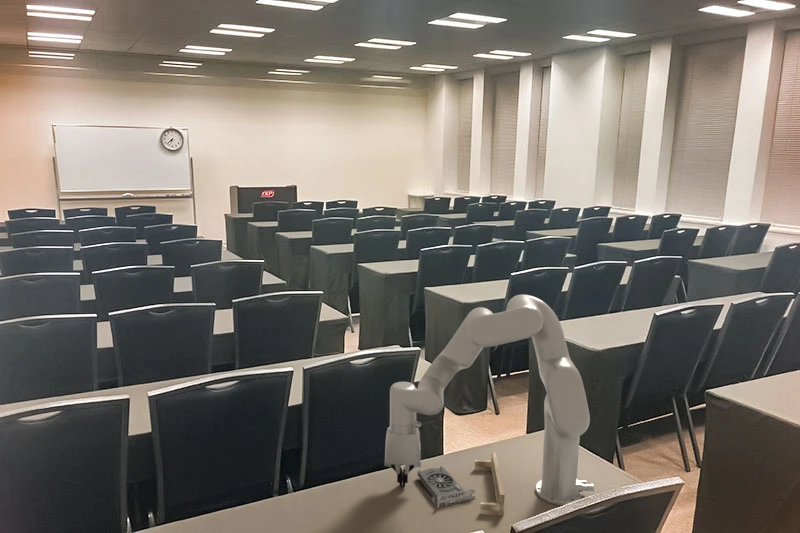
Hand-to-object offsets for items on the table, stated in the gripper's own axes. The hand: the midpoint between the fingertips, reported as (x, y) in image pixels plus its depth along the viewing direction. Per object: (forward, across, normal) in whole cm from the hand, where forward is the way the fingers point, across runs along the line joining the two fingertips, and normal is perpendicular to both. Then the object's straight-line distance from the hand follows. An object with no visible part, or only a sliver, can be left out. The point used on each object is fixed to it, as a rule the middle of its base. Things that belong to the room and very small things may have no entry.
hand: (402, 484), depth 164 cm
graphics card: (+2, -12, 0) cm, 12 cm away
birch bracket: (+1, -25, 0) cm, 25 cm away
